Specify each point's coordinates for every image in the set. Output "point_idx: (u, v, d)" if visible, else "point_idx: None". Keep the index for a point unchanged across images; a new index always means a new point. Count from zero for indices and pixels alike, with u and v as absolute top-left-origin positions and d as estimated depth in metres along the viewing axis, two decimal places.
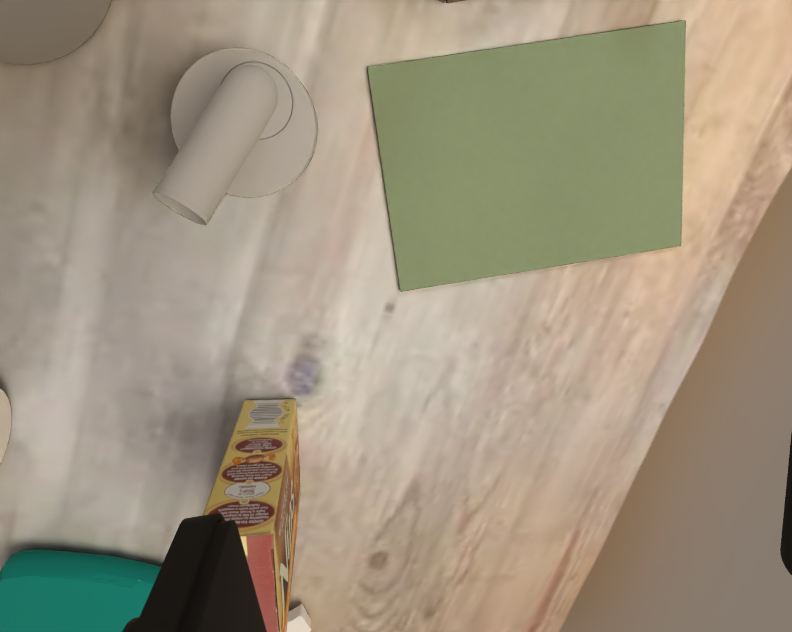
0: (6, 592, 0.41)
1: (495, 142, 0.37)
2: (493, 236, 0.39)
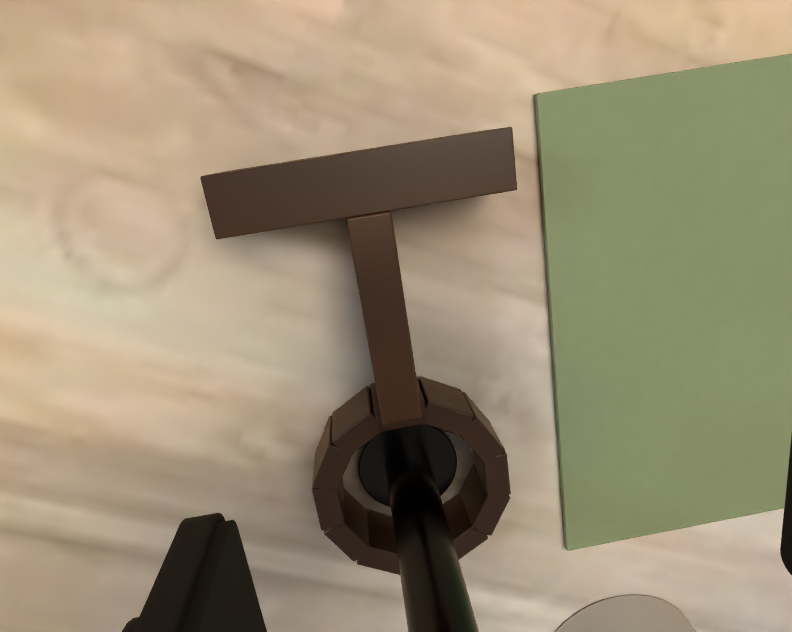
0: None
1: (682, 385, 0.25)
2: None
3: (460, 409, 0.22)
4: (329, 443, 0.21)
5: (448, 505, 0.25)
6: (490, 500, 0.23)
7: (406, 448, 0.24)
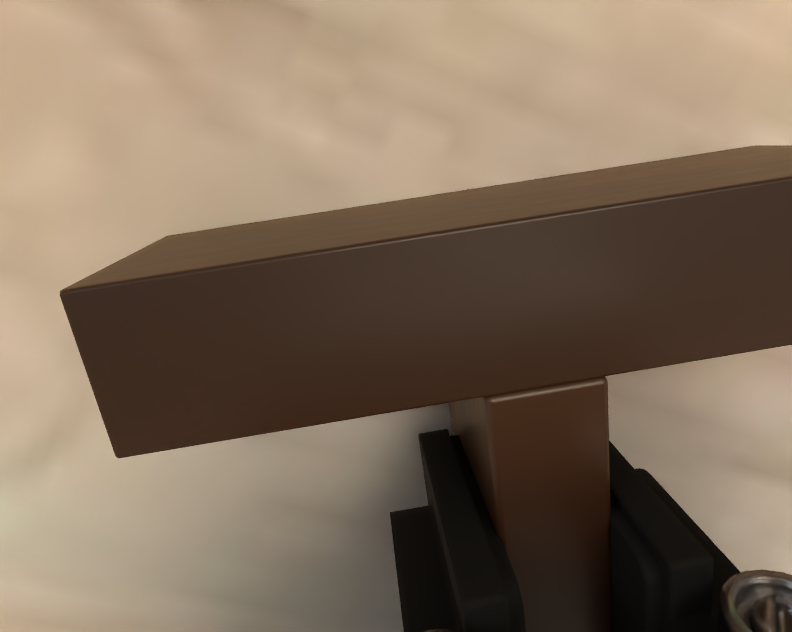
0: None
1: None
2: None
3: None
4: None
5: None
6: None
7: None
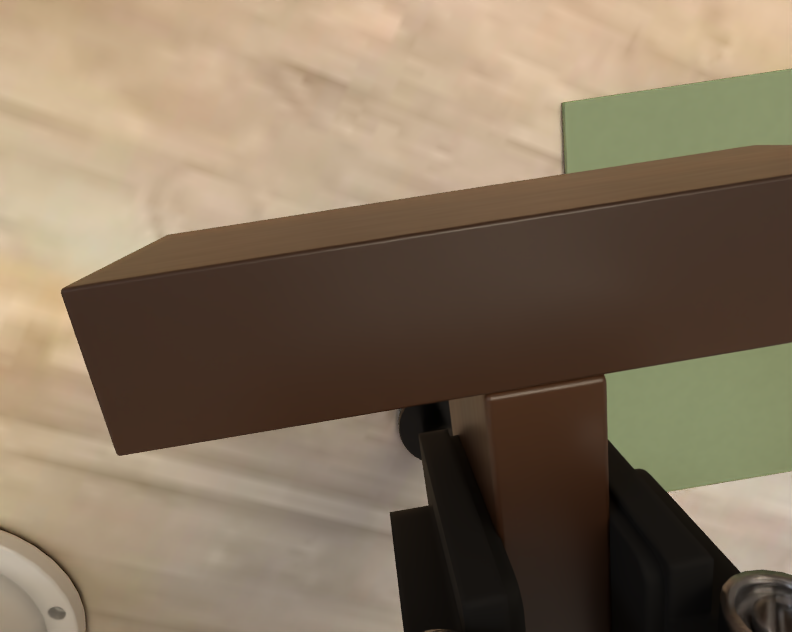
0: None
1: (686, 360, 0.28)
2: None
3: None
4: None
5: None
6: None
7: (441, 410, 0.27)
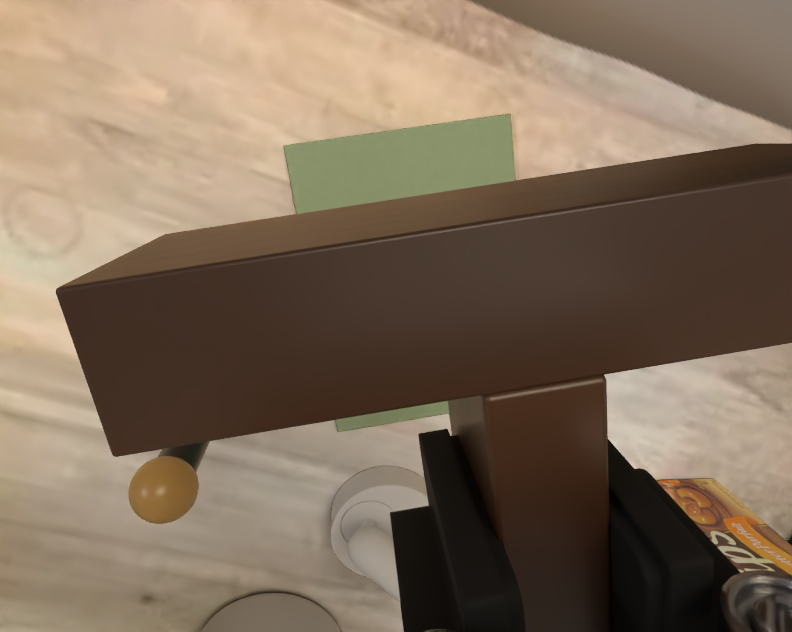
0: None
1: None
2: None
3: None
4: None
5: None
6: None
7: None
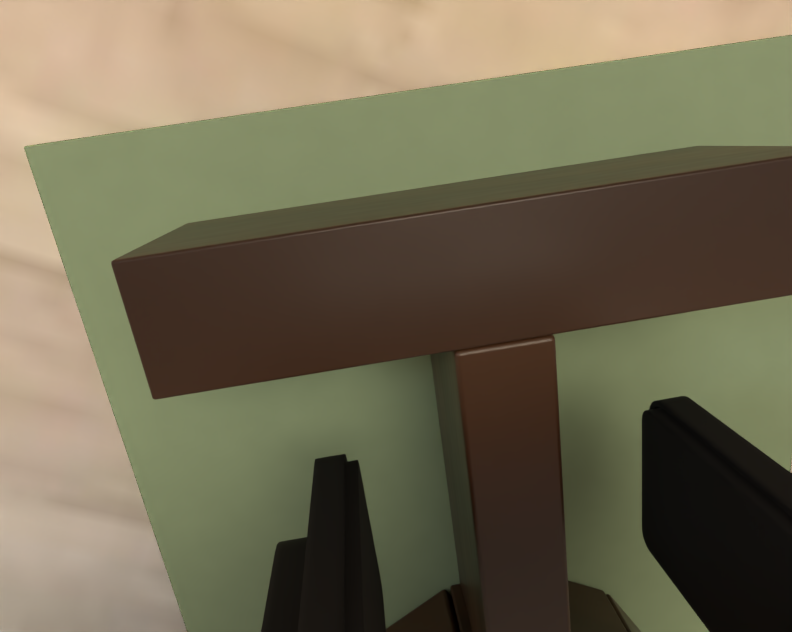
0: None
1: None
2: (671, 625, 0.14)
3: None
4: None
5: None
6: None
7: None
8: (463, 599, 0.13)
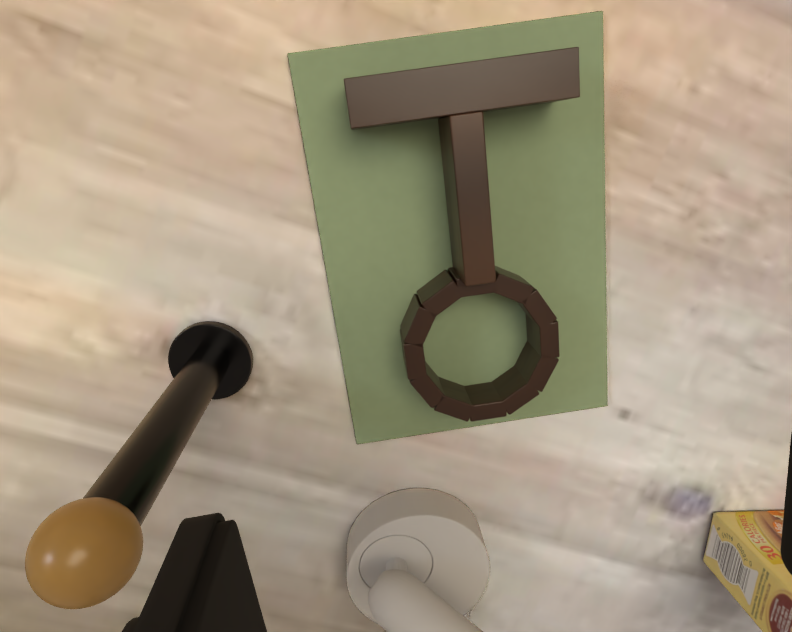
0: None
1: None
2: (554, 299, 0.30)
3: (523, 282, 0.27)
4: (419, 306, 0.27)
5: (505, 374, 0.31)
6: (543, 361, 0.28)
7: (205, 346, 0.29)
8: (454, 268, 0.29)
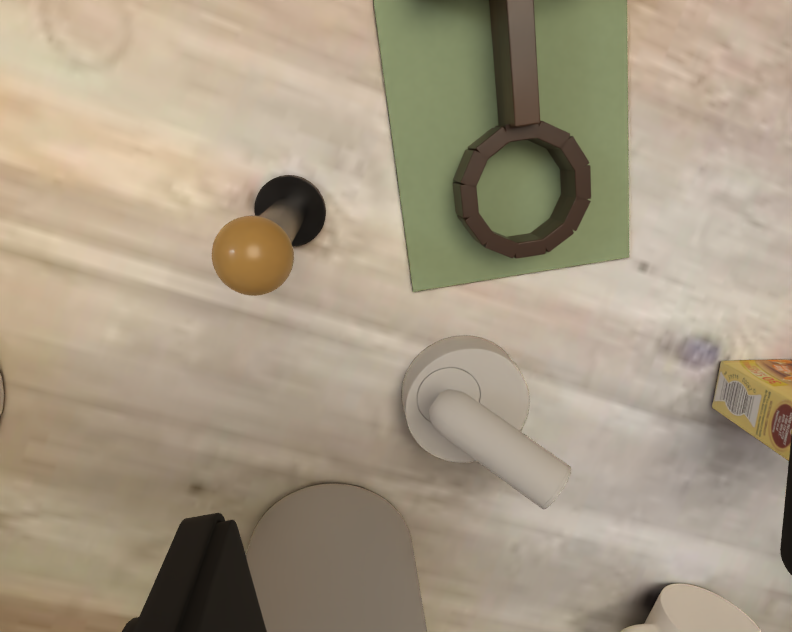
0: None
1: None
2: None
3: None
4: (473, 150, 0.32)
5: (542, 225, 0.36)
6: (577, 201, 0.33)
7: (287, 195, 0.34)
8: (500, 124, 0.33)
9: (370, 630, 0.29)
